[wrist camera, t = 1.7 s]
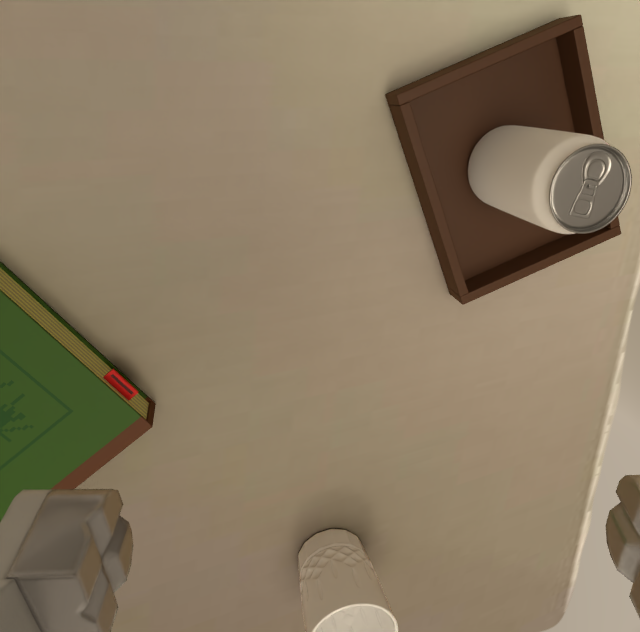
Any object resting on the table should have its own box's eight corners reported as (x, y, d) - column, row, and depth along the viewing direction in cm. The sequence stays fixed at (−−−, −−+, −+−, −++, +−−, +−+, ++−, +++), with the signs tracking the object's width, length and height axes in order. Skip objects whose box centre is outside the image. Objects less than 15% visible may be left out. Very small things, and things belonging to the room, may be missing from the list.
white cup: (380, 562, 62) (411, 645, 53) (312, 597, 62) (332, 687, 53) (348, 509, 59) (376, 589, 49) (277, 547, 59) (291, 633, 49)
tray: (385, 94, 45) (396, 95, 43) (559, 18, 46) (581, 14, 43) (449, 294, 52) (462, 305, 50) (601, 226, 53) (621, 233, 50)
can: (551, 134, 48) (654, 148, 37) (524, 212, 50) (615, 248, 39) (479, 115, 47) (565, 125, 36) (455, 197, 49) (529, 230, 38)
